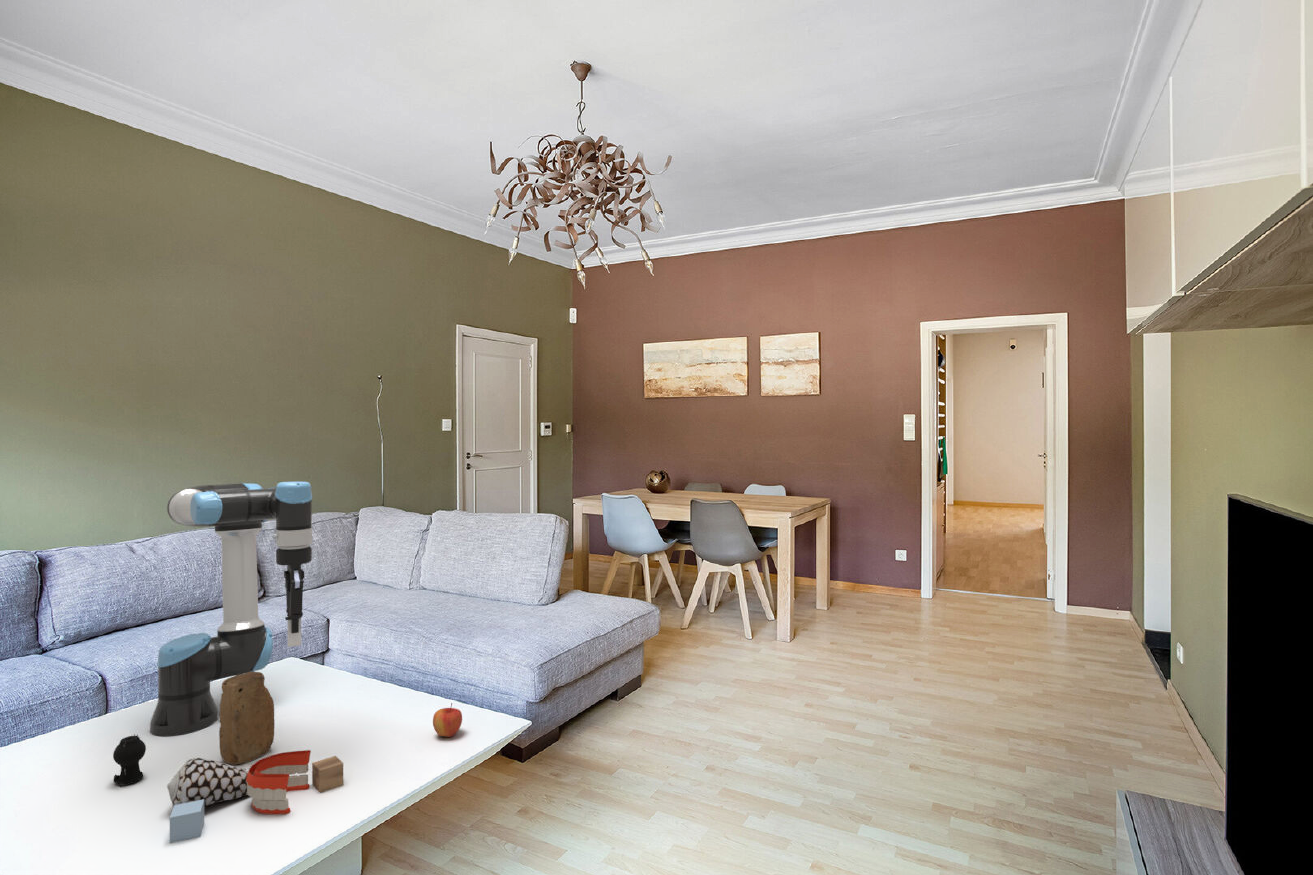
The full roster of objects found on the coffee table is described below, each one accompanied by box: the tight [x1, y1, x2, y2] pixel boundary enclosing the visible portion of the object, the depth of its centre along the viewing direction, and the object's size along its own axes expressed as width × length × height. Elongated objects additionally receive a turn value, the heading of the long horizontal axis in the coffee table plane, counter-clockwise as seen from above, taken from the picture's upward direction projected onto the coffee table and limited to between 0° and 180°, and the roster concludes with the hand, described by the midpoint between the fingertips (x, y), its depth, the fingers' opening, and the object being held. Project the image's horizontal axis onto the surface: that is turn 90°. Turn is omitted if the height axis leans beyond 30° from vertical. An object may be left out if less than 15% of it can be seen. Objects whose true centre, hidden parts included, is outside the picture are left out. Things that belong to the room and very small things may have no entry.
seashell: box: [166, 757, 249, 809], centre depth 148 cm, size 16×13×10 cm
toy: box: [246, 749, 312, 815], centre depth 147 cm, size 12×10×8 cm
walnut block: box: [311, 755, 344, 794], centre depth 154 cm, size 5×5×5 cm
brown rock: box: [218, 671, 275, 765], centre depth 168 cm, size 11×8×20 cm
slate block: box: [169, 799, 205, 844], centre depth 135 cm, size 5×5×5 cm
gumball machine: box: [112, 733, 147, 788], centre depth 156 cm, size 7×6×10 cm
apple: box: [432, 702, 463, 738], centre depth 179 cm, size 7×7×8 cm
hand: (294, 645), depth 164 cm, fingers closed
